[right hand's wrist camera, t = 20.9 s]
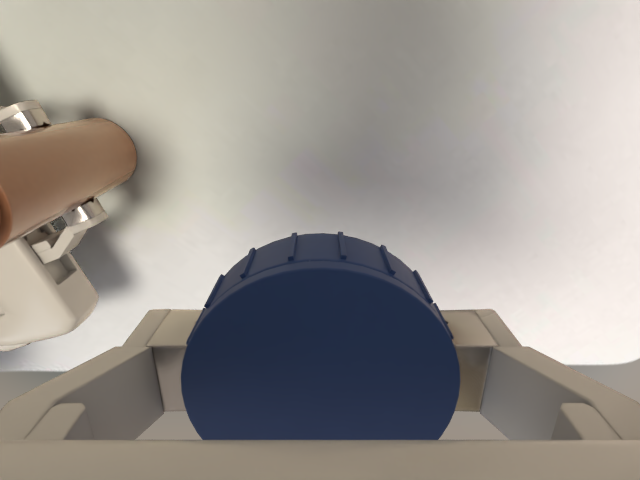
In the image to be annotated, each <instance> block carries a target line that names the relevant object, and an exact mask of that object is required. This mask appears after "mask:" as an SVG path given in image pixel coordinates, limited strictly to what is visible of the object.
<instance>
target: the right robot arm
mask: <svg viewBox="0 0 640 480" xmlns="http://www.w3.org/2000/svg"><path fill="white" fill-rule="evenodd" d="M201 312H202V310H181V309H172V310H171V309H153V310H149V311H148V313H147V314H146V315H145V317H144V318H143V319H142V321H141V322H140V323H139V324H138V326H137V327H136V328H135V330H134V331H133V332H132V334H131V335H130V336H129V338H128V339H127V340H126V342H125V343H124V344H123V346H122V347H114V348H112V349H110V350H108V351H106V352H104V353H102V354H100V355H98V356H96V357H94V358H92V359H91V360H89V361H87V362H85V363H83V364H81V365H79V366H77V367H75V368H73V369H71V370H69V371H67V372H65V373H63V374H61V375H59V376H57V377H55V378H53V379H51V380H49V381H48V382H46V383H44V384H42V385H40V386H38V387H36V388H34V389H32V390H30V391H28V392H26V393H24V394H22V395H20V396H18V397H16V398H14V399H12V400H10V401H9V402H8V403H7V404H6V405H5V406H4V407H3V408H2V409H1V410H0V480H640V404H639V403H638V402H637V401H635V400H633V399H631V398H629V397H627V396H625V395H623V394H621V393H619V392H617V391H615V390H613V389H611V388H609V387H607V386H605V385H603V384H601V383H599V382H597V381H595V380H593V379H591V378H589V377H587V376H585V375H584V374H582V373H580V372H578V371H576V370H574V369H572V368H570V367H568V366H566V365H564V364H562V363H560V362H558V361H556V360H554V359H552V358H550V357H548V356H546V355H544V354H542V353H540V352H538V351H536V350H534V349H532V348H530V347H522V345H521V344H520V343H519V341H518V340H517V339H516V338H515V336H514V335H513V334H512V332H511V331H510V330H509V329H508V327H507V326H506V325H505V323H504V322H503V321H502V319H501V318H500V317H499V316H498V314H497V313H496V312H495V311H494V310H492V309H475V310H440V312H441V314H442V316H443V318H444V320H445V321H446V323H447V325H448V327H449V329H450V331H451V333H452V335H453V337H454V339H452V342H453V344H454V347H455V349H456V352H457V356H458V361H459V365H460V390H459V397H458V401H457V405H456V408H455V411H476V412H480V414H482V415H483V416H484V417H485V418H486V419H487V420H488V421H489V422H490V423H492V424H493V425H494V426H495V427H496V428H497V429H498V430H499V431H501V432H502V433H503V434H504V435H505V436H506V437H507V438H508V439H509V440H135V439H136V438H137V437H138V436H139V435H141V434H142V433H143V432H144V431H145V430H146V429H147V428H148V427H149V426H151V425H152V424H153V423H154V422H155V421H156V420H157V419H158V418H159V417H161V416H162V415H163V414H164V412H168V411H186V408H185V406H184V401H183V396H182V392H181V369H182V361H183V358H184V354H185V351H186V347H187V345H186V341H187V339H188V337H189V335H190V333H191V331H192V329H193V327H194V325H195V324H196V322H197V320H198V318H199V316H200V314H201Z"/></svg>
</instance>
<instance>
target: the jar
mask: <svg viewBox="0 0 640 480" xmlns="http://www.w3.org/2000/svg"><path fill="white" fill-rule="evenodd" d="M136 162H137V155H136V150H135V146H134V144H133V142H132V140H131V138H130V137H129V135H128V134H127V133H126V132H125V131H124V130H123V129H122V128H121V127H119V126H118V125H117V124H115V123H113V122H111V121H109V120H106V119H101V118H89V119H83V120H77V121H71V122H65V123H59V124H53V125H47V126H41V127H36V128H30V129H24V130H18V131H12V132H6V133H0V249H2V248H3V247H5V246H7V245H9V244H11V243H13V242H15V241H16V240H18V239H20V238H22V237H24V236H26V235H27V234H29V233H31V232H33V231H35V230H37V229H39V228H40V227H42V226H44V225H46V224H48V223H50V222H52V221H53V220H55V219H57V218H59V217H61V216H63V215H64V214H66V213H68V212H70V211H72V210H74V209H76V208H77V207H79V206H81V205H83V204H85V203H87V202H88V201H90V200H92V199H94V198H96V197H98V196H100V195H101V194H103V193H105V192H107V191H109V190H111V189H113V188H114V187H116V186H118V185H120V184H122V183H123V182H125V181H127V180H128V179H129V178H130V177H131V175H132V174H133V172H134V170H135V167H136Z"/></svg>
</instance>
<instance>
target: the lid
mask: <svg viewBox="0 0 640 480" xmlns="http://www.w3.org/2000/svg"><path fill="white" fill-rule="evenodd" d="M204 307H206V308H203V310H202V312H201V314H200V316H199V318H198V320H197V322H196V324H195V325H194V327H193V329H192V331H191V333H190V335H189V337H188V339H187V341H186V345H187V347H186V351H185V354H184V358H183V361H182V369H181V392H182V396H183V401H184V406H185V408H186V411H187V414H188V416H189V419H190V421H191V423H192V424H193V426H194V428H195V430H196V431H197V433H198V434H199V436H200V437H201V438H202V439H203V440H438V439H439V438H440V437H441V435H442V434H443V432H444V431H445V429H446V428H447V426H448V424H449V422H450V420H451V418H452V416H453V413H454V411H455V408H456V405H457V401H458V397H459V390H460V365H459V361H458V356H457V352H456V349H455V347H454V344H453V342H452V339H454V337H453V335H452V333H451V331H450V329H449V327H448V325H447V323H446V321H445V320H444V318H443V316H442V314H441V312H440V310H439V308H438V306H437V305H436V303H434V304H433V300H432V298H431V296H430V294H429V292H428V290H427V288H426V287H425V285H424V283H423V281H422V279H421V277H420V275H419V273H418V272H417V271H416V270H415V271H413V272H412V270H411V269H410V268H409V267H407V266H406V265H405V264H404V263H403V262H402V261H401V260H400V259H398V258H397V257H395V256H394V255H392V254H391V253H389V252H388V251H387V249H386V247H385V246H384V245H381V247H378V246H376V245H374V244H372V243H369V242H366V241H363V240H360V239H357V238H353V237H348V236H344V235H343V232H338V235H337V234H324V233H321V234H304V235H298V236H297V233H292V236H291V237H288V238H284V239H281V240H278V241H274V242H272V243H270V244H267V245H265V246H263V247H261V248H258V249H257V250H255V248H252V249H250V251H249V254H248V255H247V256H245V257H244V258H243V259H242V260H240V261H239V262H238V263H237V264H236V265H234V266H233V267H232V268H231V269H230V271H229V272H228V273H227V274H226V275H225V276H224V275H222V274H221V275H220V277H219V278H218V280H217V282H216V284H215V286H214V288H213V290H212V292H211V294H210V296H209V298H208V300H207V302H206V304H205V306H204Z"/></svg>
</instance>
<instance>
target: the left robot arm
mask: <svg viewBox="0 0 640 480" xmlns="http://www.w3.org/2000/svg"><path fill="white" fill-rule="evenodd" d="M0 124H1V125H2V126H3V128H4V129H5V131H6V132H12V131H18V130H24V129H30V128H36V127H41V126H47V125H50V124H51V122H50V121H49V119H48V117H47V115H46V114H45V112H44V110H43V109H42V107H41V106H40V104H39V102H38V101H37V100H30V101H22V102H19V103H15V104H13V105H10V106H8V107H3V106H0ZM62 217H63V219H64V220H65V222H66V224H67V226H66V228H65V229H63V230H61V231H58V232H56V231H55V229H54V228H53V227H52V225H51V224H50V223H48V224H46V225H44V226H42V227H40V228H39V229H37V230H35V231H33V232H31V233H29V234H27V235H26V236H24V237H22V238H20V239H18V240H16V241H15V242H13V243H11V244H9V245H7V246H5V247H3V248H2V249H0V351H11V350H14V349H17V348H19V347H22V346H25V345H28V344H30V343H32V342H36V341H41V340H45V339H49V338H53V337H57V336H61V335H64V334H67V333H69V332H71V331H73V330H74V329H76V328H77V327H78V326H79V325H80V324H82V323H83V322H84V321H85V320H86V319H87V318H88V317H89V315H90V314H91V313H92V312H93V310H94V308H95V306H96V304H97V301H98V298H99V296H98V294H97V292H96V290H95V289H94V287H93V286H92V284H91V283H90V281H89V280H88V278H87V277H86V275H85V274H84V273H83V271H82V270H81V268H80V267H79V265H78V264H77V262H76V261H75V259H74V258H73V256H72V255H71V253H70V252H69V251H71V250H72V249H73V248H75V247H76V246H78V244H79V243H80V241H81V239H82V238H83V236H84V234H85V233H86V231H87V229H88V228H91V227H93V226H95V225H97V224H99V223H101V222H102V221H104V220H105V219H107V218H108V216H107V214H106V212H105V211H104V209H103V208H102V206H101V204H100V203H99V201H98V199H97V198H94V199H92V200H90V201H88V202H87V203H85V204H83V205H81V206H79V207H77V208H76V209H74V210H72V211H70V212H68V213H66V214H64V215H63V216H62Z"/></svg>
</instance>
